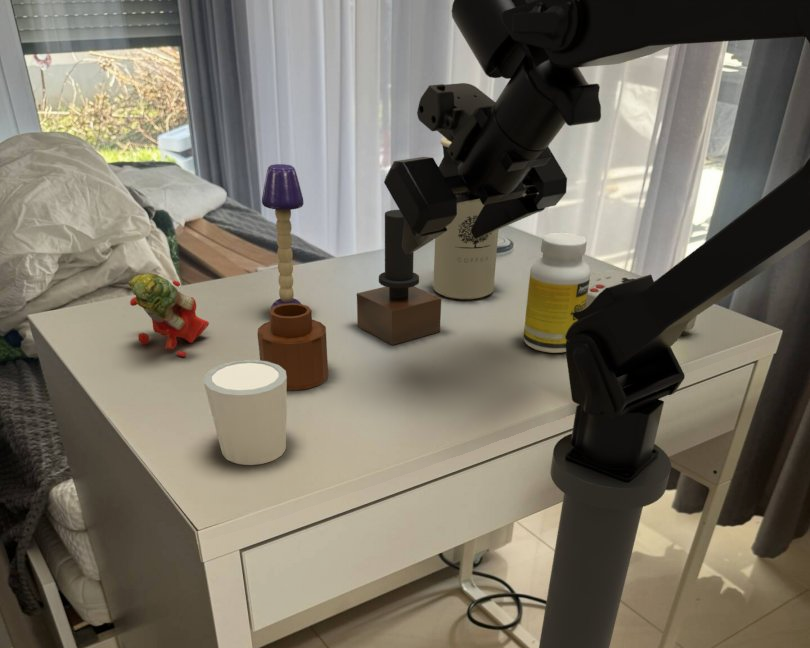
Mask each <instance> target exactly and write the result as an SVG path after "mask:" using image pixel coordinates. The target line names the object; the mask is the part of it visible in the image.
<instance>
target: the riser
mask: <svg viewBox="0 0 810 648" xmlns="http://www.w3.org/2000/svg"><path fill="white" fill-rule="evenodd" d="M356 313H357V314H356V317H357V319H356V321H357V322H356V323H357V327H358V328H360V329H362V330H364V331H366V332H367V333H368V334H371V335H373V336H374V337H376V338H378V339H379V340H382V341H383V342H385V343H387V344H389V345H391V346H395V345H399V344H402V343H405V342H409V341H412V340H416V339H419V338H420V339H421V338H424V337H428V336H431V335H433V334H437V333H440V332H441V318H442V317H441V316H442V297H439V296H437V295H435V294H433V293H431V292H428V291H426V290H424V289H422V288H419V287H417V286H413V287H409V288H408V297H406V298H402V299H396V298H392V297H390V296H389V287H386V286H382V287H378V288H374V289H369V290H365V291H360V292H357V293H356Z"/></svg>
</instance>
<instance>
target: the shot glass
mask: <svg viewBox="0 0 810 648" xmlns="http://www.w3.org/2000/svg"><path fill="white" fill-rule="evenodd" d="M203 384H204V390H205V392H206V393H205V394H206V396H207V400H208V404H209V408H210V412H211V416H212V419H213V420H212V421H213V424H214V428H215V432H216V436H217V440H218V443H219V447H220V450H221V454H222V456H223V457H224V458H225V459H226V461H229V462H231V463H234V464H236V465H244V466H256V465H263V464H267V463H270V462H274V461H275V460H277V459H279V458H280V457H282V455H284V453H285V451H286V450H287V396H288V395H287V392H288V390H287V376H286V371H285V370H284V369H283V368H282V367H280V366H279V365H277V364H274V363H271V362H268V361H260V359H259V360H257V359H245V360H234V361H230V362H226V363H221V364H220V365H217V366H215V367H213V368H211V369H210V370H209V371H208V372H206V374H205V375H204V376H203Z"/></svg>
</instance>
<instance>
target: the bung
mask: <svg viewBox="0 0 810 648" xmlns="http://www.w3.org/2000/svg"><path fill="white" fill-rule="evenodd" d="M404 222H405V219H404V217H403V215H402V213H401V212H400V210H399V209H391V210H387V211H385V213H384V271H383V272H381V273H380V274H379V275H378V283H379V284H380V285H381V286H382V287H389V296H390V297H392V298H396V299H402V298H406V297H408V288H409V287H413V286H415V287H417V285H419V283H420V276H419V274H418V273H416V272H414V252H415V251H414V252H413V253H411V254H408V255H407V254H406V253H405V251H404V249H403V248H402V240H403V231H404Z"/></svg>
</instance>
